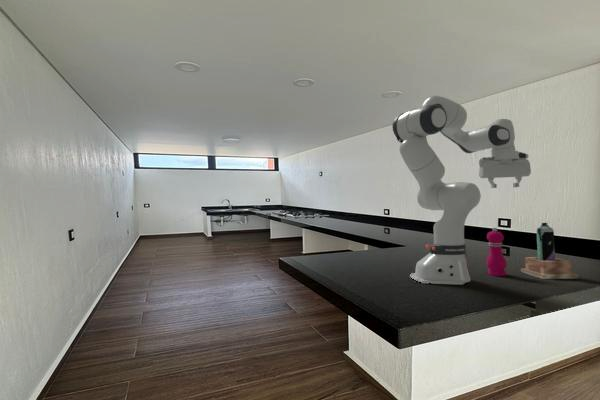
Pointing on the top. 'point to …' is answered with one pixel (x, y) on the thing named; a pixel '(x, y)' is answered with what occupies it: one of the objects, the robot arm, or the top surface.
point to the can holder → (549, 268)
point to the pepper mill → (496, 254)
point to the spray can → (545, 243)
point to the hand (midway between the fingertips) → (505, 187)
